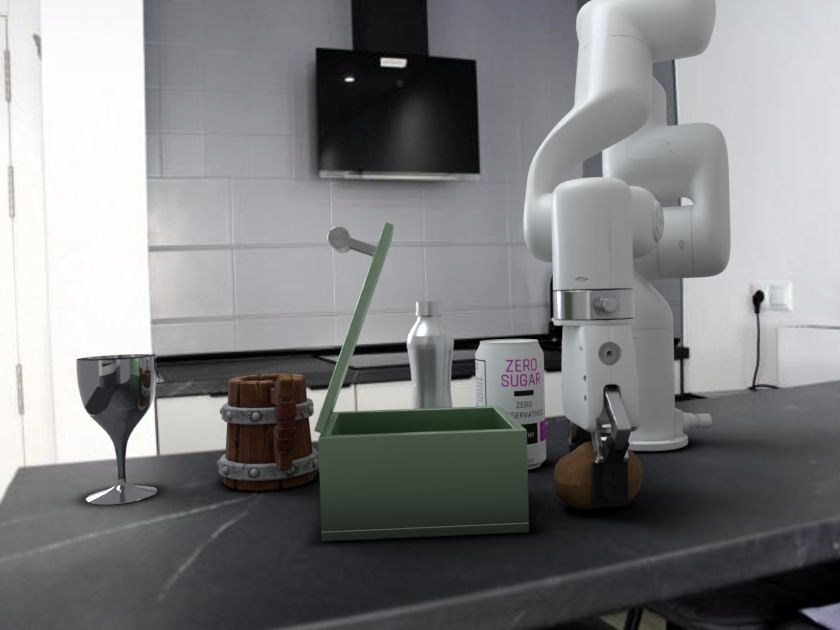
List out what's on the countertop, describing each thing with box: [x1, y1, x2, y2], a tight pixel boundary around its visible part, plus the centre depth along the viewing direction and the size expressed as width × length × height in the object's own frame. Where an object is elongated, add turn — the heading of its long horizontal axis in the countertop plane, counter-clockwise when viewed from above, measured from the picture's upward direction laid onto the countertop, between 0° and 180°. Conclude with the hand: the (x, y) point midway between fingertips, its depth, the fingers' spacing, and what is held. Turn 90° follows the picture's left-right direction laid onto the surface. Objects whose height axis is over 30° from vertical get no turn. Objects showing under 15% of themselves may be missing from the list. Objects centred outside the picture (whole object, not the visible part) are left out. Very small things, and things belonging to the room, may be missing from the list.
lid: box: [313, 221, 395, 434], centre depth 66 cm, size 19×14×5 cm
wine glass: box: [75, 353, 158, 506], centre depth 76 cm, size 8×8×15 cm
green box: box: [317, 406, 530, 543], centre depth 67 cm, size 18×14×9 cm
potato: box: [552, 440, 644, 510], centre depth 68 cm, size 7×10×6 cm
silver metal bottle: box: [406, 300, 455, 409], centre depth 94 cm, size 6×7×20 cm
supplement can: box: [474, 338, 547, 470], centre depth 85 cm, size 8×8×15 cm
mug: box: [216, 373, 319, 492], centre depth 80 cm, size 12×14×15 cm
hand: (597, 492), depth 68 cm, fingers closed on potato, 7 cm apart
